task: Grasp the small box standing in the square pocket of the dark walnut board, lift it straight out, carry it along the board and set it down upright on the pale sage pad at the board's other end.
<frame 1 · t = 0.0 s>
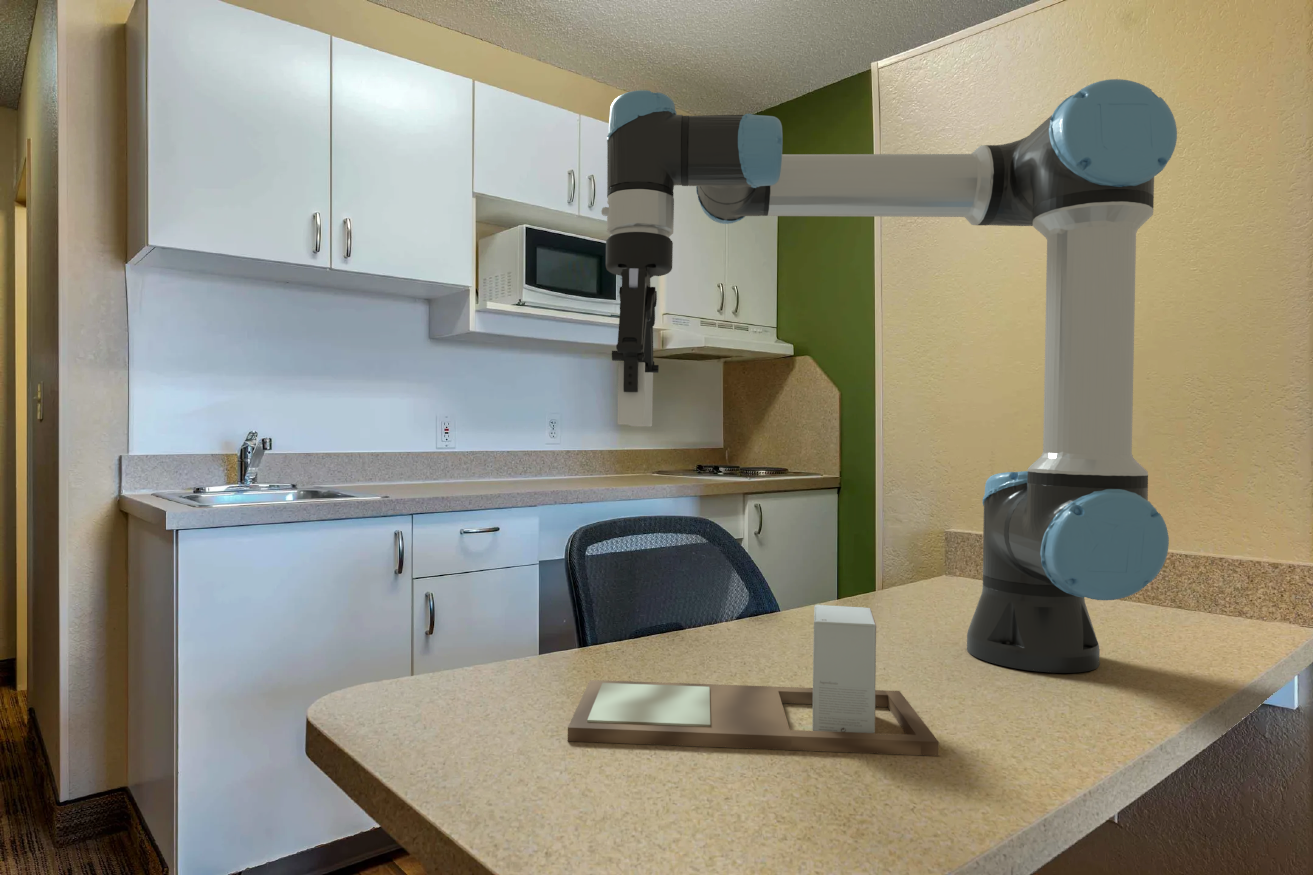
hand: (636, 426, 92), 28 cm above the countertop, fingers open, 13 cm apart
small box: (841, 726, 77), resting in board
board: (746, 720, 78), on the countertop
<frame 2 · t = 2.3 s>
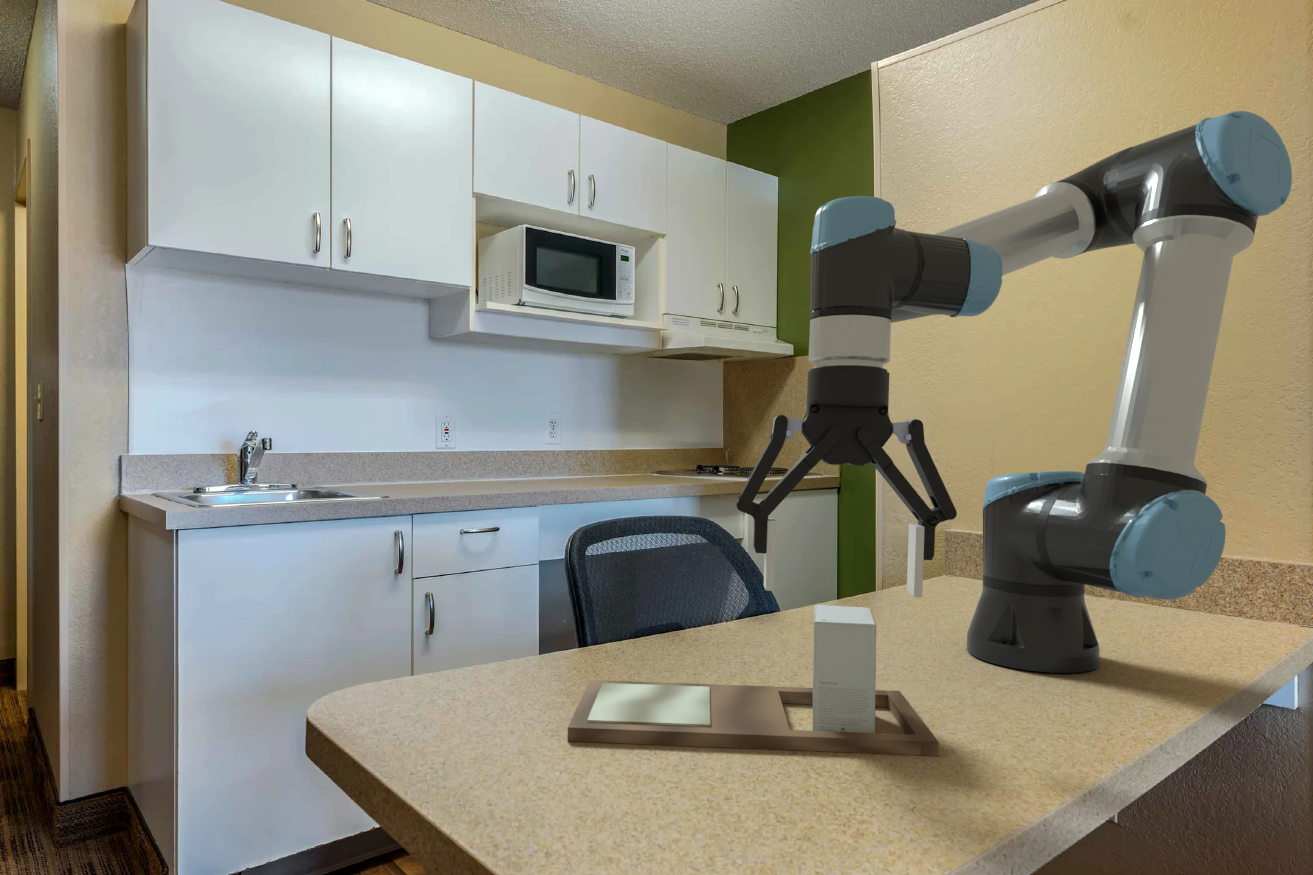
hand: (841, 591, 77), 13 cm above the countertop, fingers open, 13 cm apart
nothing on the countertop moved.
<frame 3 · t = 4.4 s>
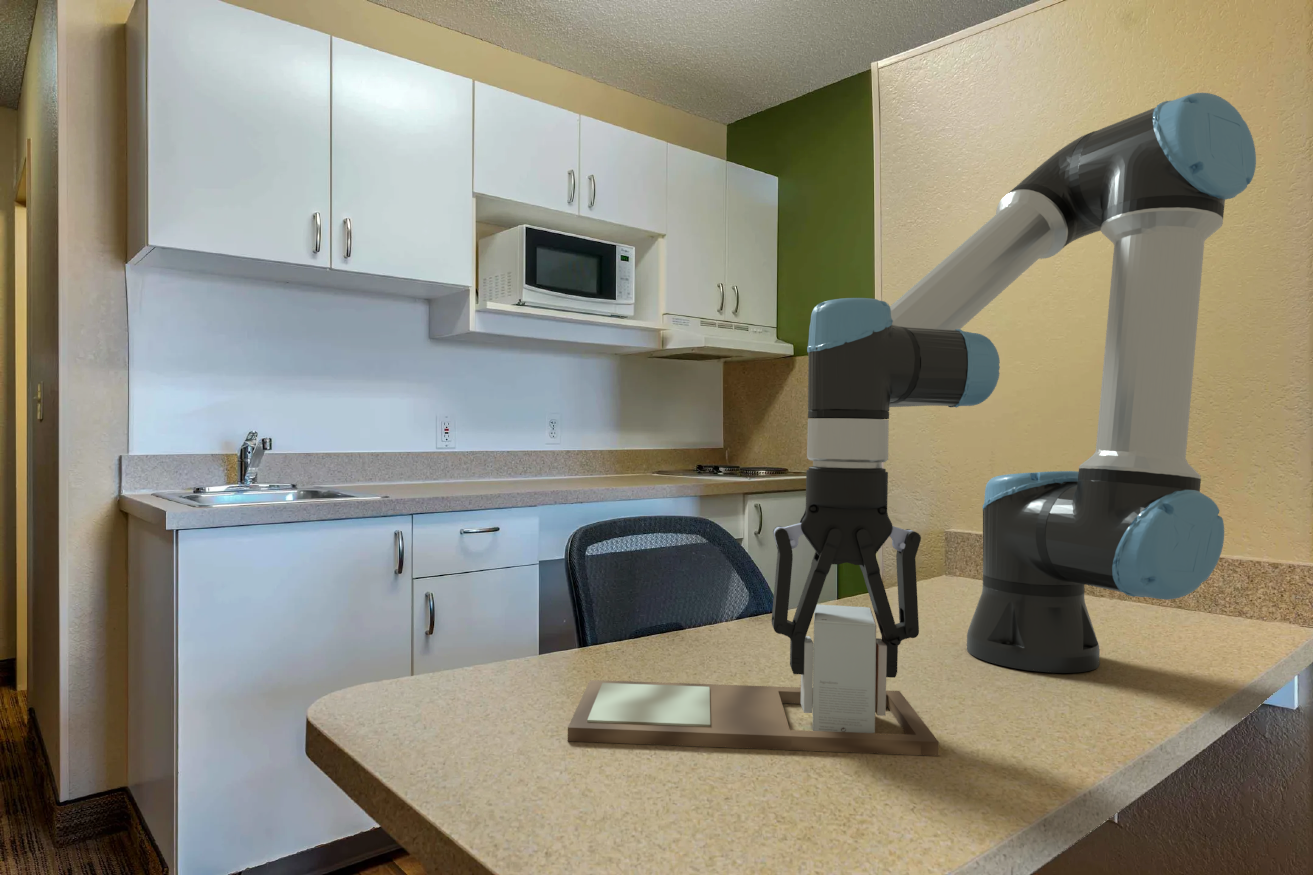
hand: (842, 708, 77), 1 cm above the countertop, fingers closed on small box, 6 cm apart
small box: (841, 726, 77), resting in board, touching gripper
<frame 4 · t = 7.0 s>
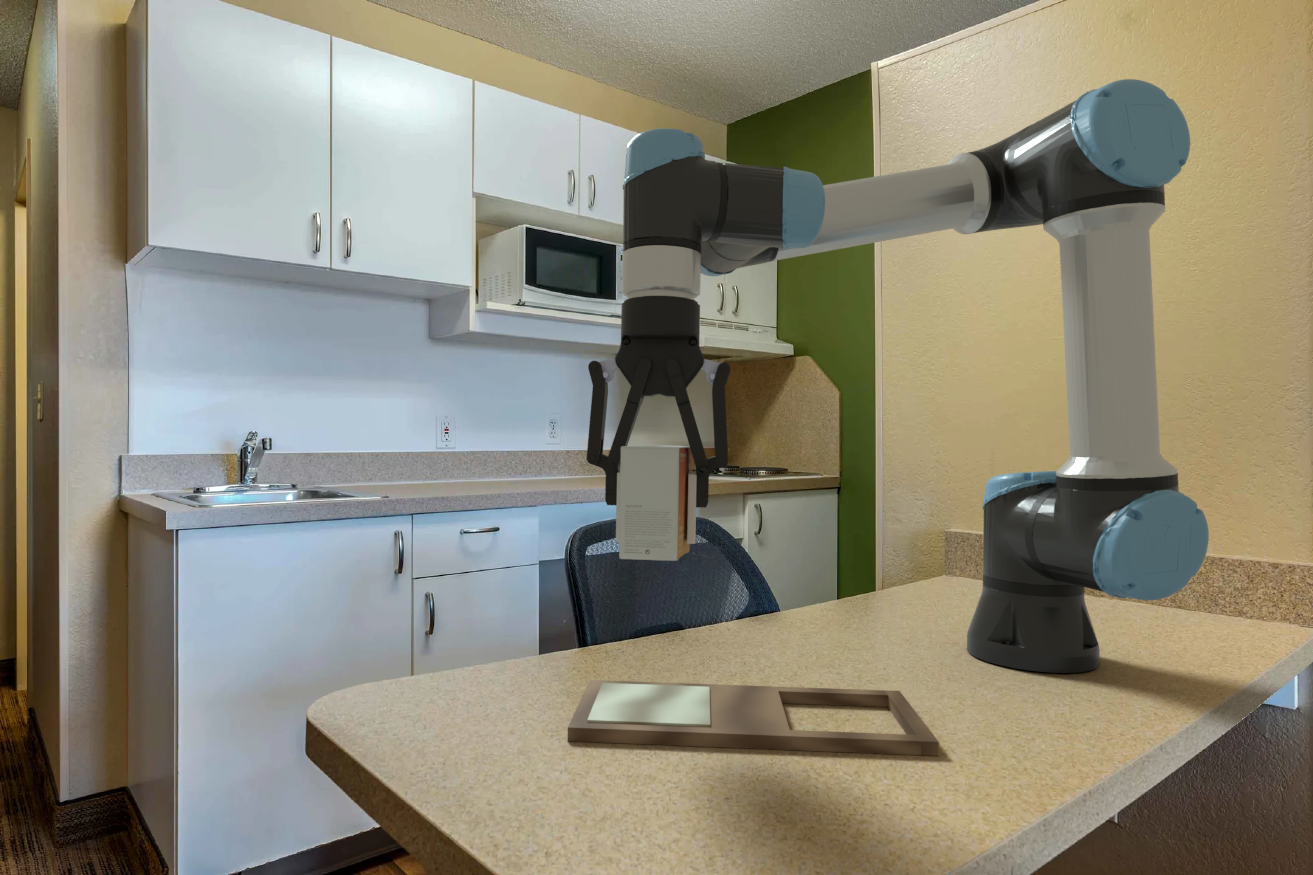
hand: (656, 540, 78), 17 cm above the countertop, fingers closed on small box, 6 cm apart
small box: (655, 557, 78), point 15 cm above the countertop, touching gripper
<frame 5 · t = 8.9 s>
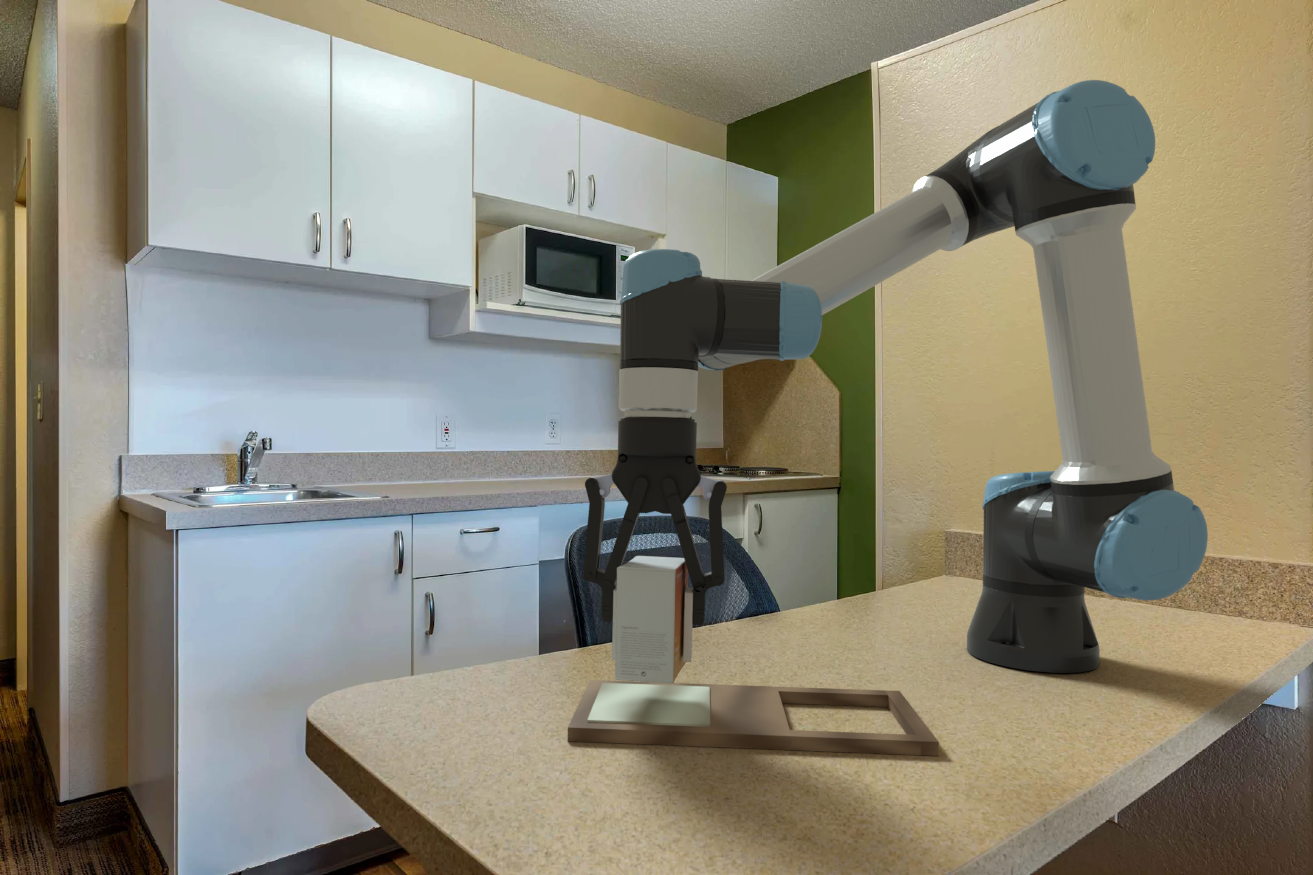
hand: (652, 656, 78), 6 cm above the countertop, fingers closed on small box, 6 cm apart
small box: (652, 673, 78), point 4 cm above the countertop, touching gripper
when the fingers open (4 cm above the countertop, at t = 10.1 s): small box moves 1 cm, resting on board.
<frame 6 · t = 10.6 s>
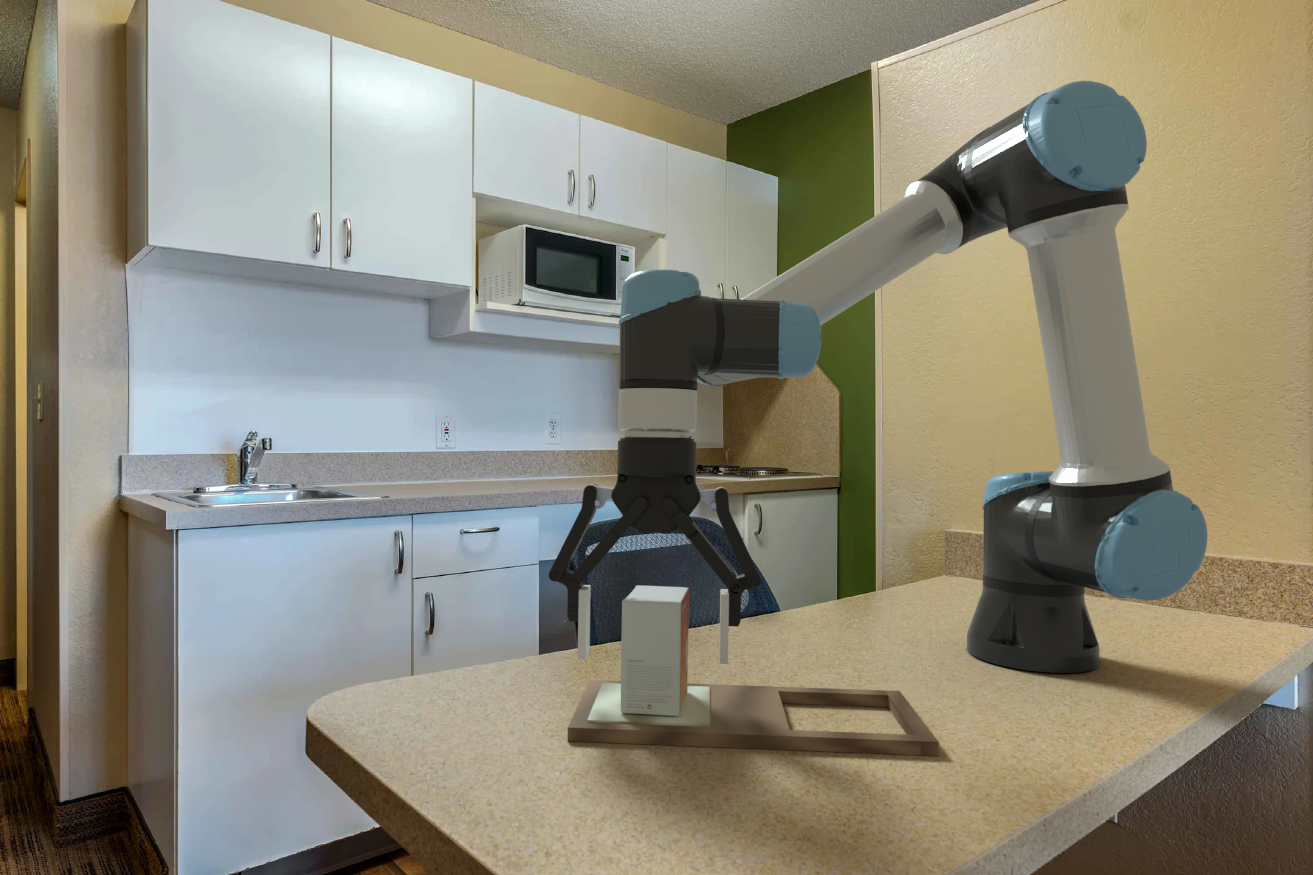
hand: (653, 657, 78), 6 cm above the countertop, fingers open, 13 cm apart
small box: (655, 704, 78), point 1 cm above the countertop, touching board
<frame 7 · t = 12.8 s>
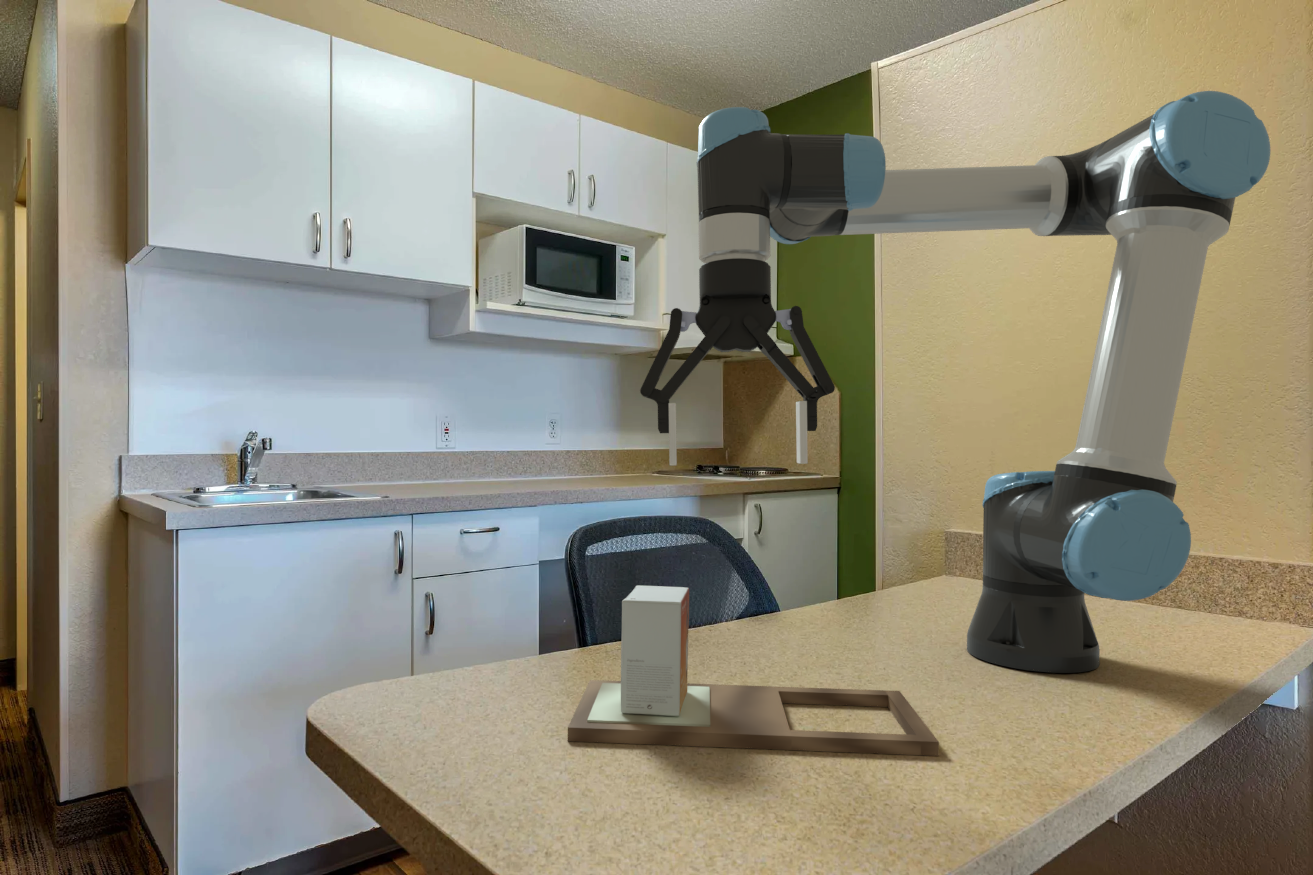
hand: (737, 464, 86), 24 cm above the countertop, fingers open, 13 cm apart
nothing on the countertop moved.
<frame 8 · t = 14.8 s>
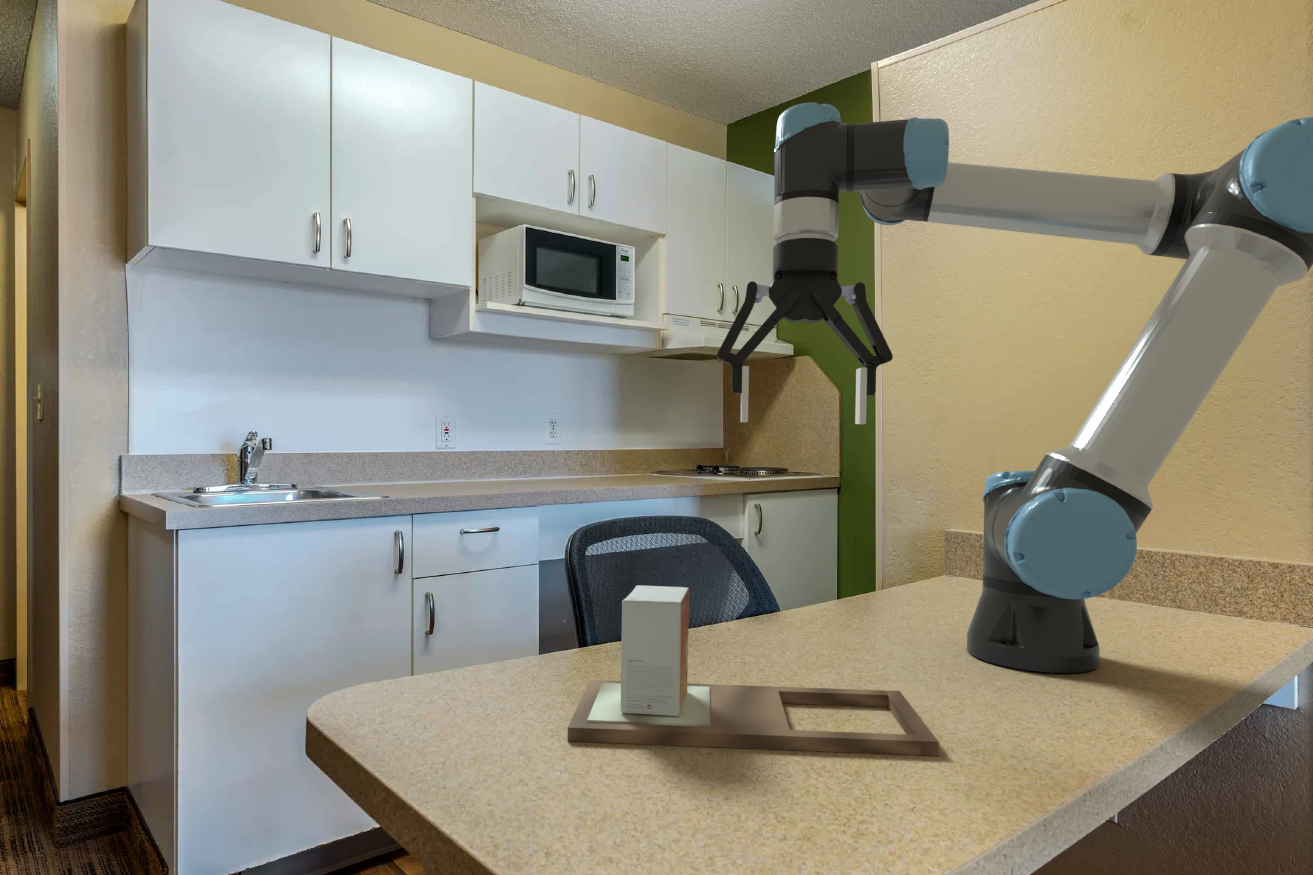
hand: (802, 423, 96), 29 cm above the countertop, fingers open, 13 cm apart
nothing on the countertop moved.
at the end: small box inside the target area on the board (0.3 cm from its centre), point 1.2 cm above the board's base; small box tilted 0°; the gripper is holding nothing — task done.
